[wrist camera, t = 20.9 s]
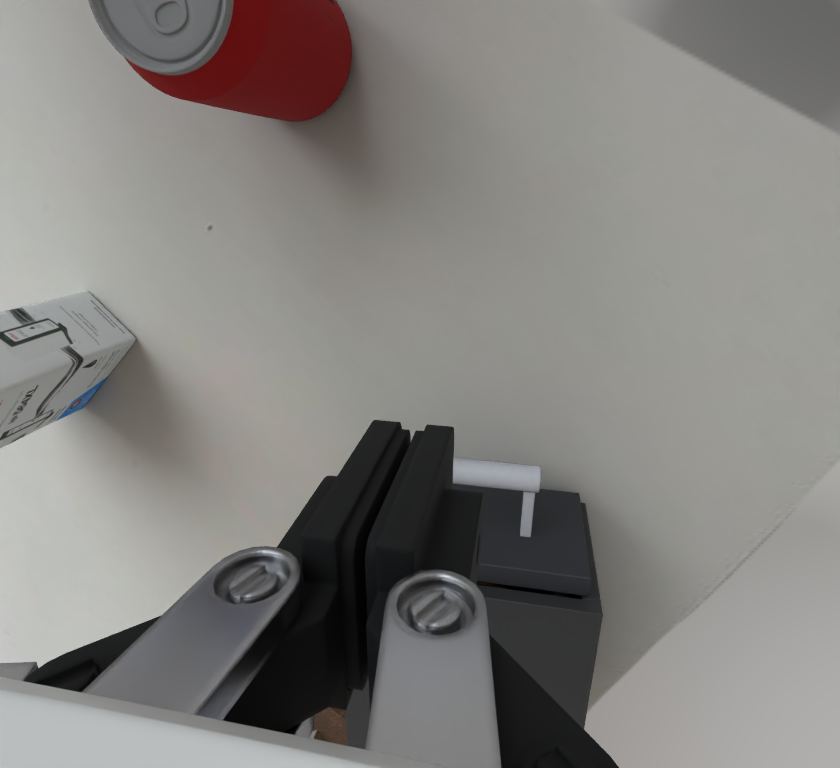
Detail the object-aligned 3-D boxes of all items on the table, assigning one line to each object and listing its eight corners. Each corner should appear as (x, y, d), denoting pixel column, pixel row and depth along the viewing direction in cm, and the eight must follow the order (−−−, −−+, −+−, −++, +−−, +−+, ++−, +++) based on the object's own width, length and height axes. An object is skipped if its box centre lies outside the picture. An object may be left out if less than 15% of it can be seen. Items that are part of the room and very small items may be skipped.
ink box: (83, 409, 41) (-78, 495, 30) (32, 362, 40) (-152, 432, 29) (140, 338, 37) (-18, 404, 27) (85, 285, 37) (-100, 332, 26)
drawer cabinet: (382, 480, 38) (335, 576, 29) (585, 502, 35) (603, 614, 26) (386, 649, 44) (348, 772, 35) (561, 678, 41) (569, 818, 32)
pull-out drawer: (385, 414, 35) (346, 477, 28) (587, 431, 33) (602, 505, 25) (390, 636, 42) (360, 732, 35) (557, 662, 40) (562, 772, 32)
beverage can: (333, -44, 27) (196, -192, 16) (373, 100, 29) (277, 56, 18) (220, 7, 29) (28, -93, 18) (265, 139, 31) (118, 122, 20)
